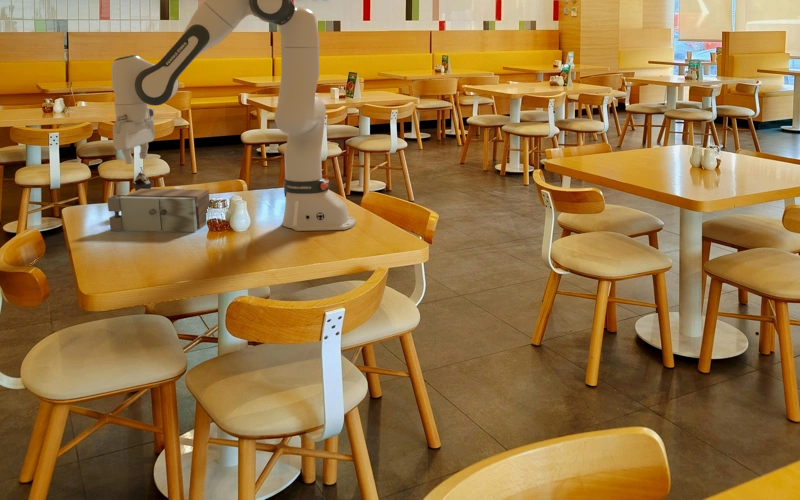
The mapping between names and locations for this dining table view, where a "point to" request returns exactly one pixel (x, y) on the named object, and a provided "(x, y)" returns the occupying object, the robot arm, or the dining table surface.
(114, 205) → the door
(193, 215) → the cabinet
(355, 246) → the dining table surface
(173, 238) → the dining table surface
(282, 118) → the robot arm
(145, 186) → the sundae
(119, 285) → the dining table surface
